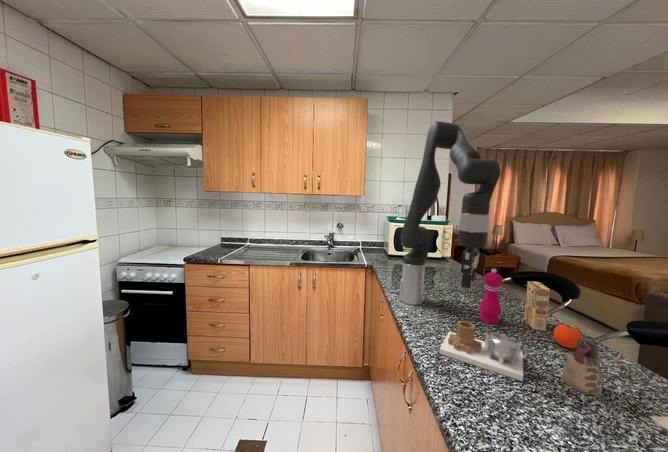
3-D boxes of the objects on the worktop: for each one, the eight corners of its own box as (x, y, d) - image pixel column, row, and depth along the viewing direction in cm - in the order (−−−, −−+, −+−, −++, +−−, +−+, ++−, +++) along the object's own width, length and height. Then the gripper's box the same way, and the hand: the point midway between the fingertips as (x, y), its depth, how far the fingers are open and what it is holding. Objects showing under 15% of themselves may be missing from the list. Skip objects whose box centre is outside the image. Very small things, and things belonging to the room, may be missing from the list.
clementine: (565, 339, 89) (568, 319, 88) (589, 351, 82) (592, 329, 81) (546, 341, 87) (549, 320, 86) (569, 353, 80) (572, 331, 80)
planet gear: (445, 346, 79) (447, 325, 79) (451, 334, 86) (453, 315, 86) (478, 357, 74) (480, 335, 74) (482, 344, 81) (484, 323, 81)
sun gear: (483, 358, 74) (484, 341, 73) (486, 345, 81) (487, 329, 80) (518, 369, 69) (520, 351, 69) (518, 355, 76) (520, 338, 76)
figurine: (608, 391, 64) (615, 344, 63) (589, 398, 62) (596, 349, 61) (573, 373, 71) (579, 330, 70) (555, 378, 69) (561, 334, 67)
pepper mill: (503, 325, 98) (509, 272, 96) (482, 323, 99) (487, 270, 97) (495, 317, 105) (500, 267, 103) (475, 315, 106) (480, 265, 104)
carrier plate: (439, 353, 78) (441, 330, 78) (448, 335, 89) (450, 315, 88) (522, 381, 67) (525, 354, 66) (522, 357, 78) (524, 333, 77)
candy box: (546, 331, 94) (551, 289, 93) (532, 329, 95) (536, 287, 94) (536, 321, 103) (540, 282, 101) (523, 319, 104) (527, 280, 102)
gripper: (463, 226, 86) (458, 275, 87) (454, 230, 74) (449, 287, 76) (490, 228, 81) (485, 280, 83) (485, 233, 70) (479, 293, 71)
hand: (468, 283), depth 79 cm, fingers open, 8 cm apart
